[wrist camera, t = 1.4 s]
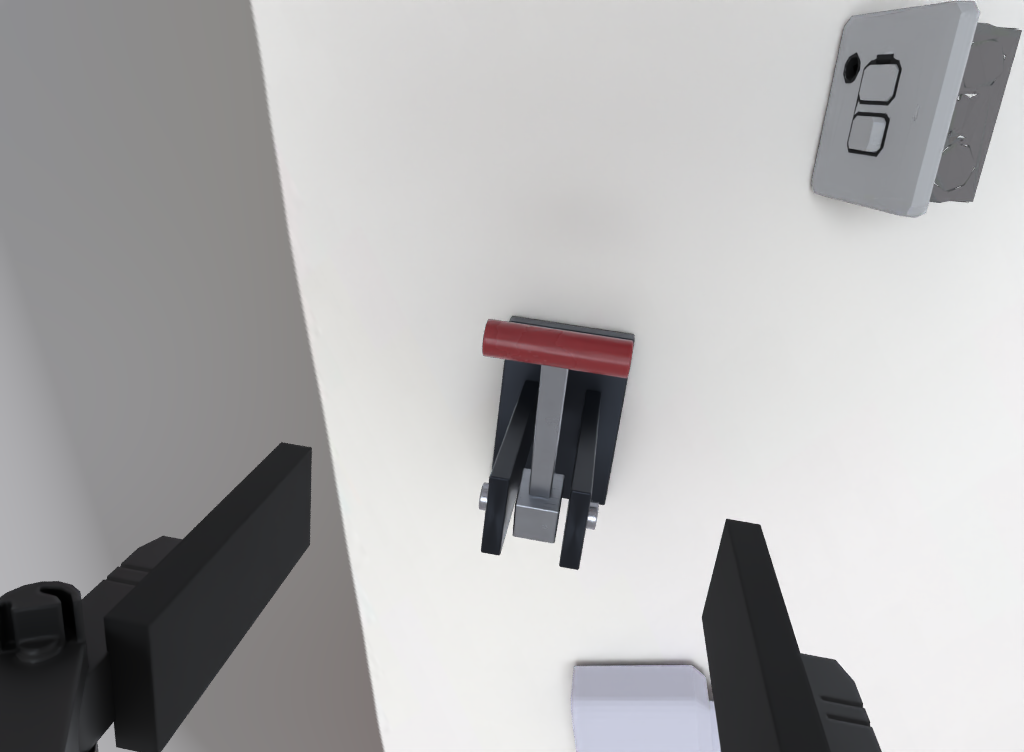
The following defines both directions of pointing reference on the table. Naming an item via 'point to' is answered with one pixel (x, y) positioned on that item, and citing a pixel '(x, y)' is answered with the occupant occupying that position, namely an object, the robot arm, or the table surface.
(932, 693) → the table surface
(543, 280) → the table surface
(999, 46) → the electrical switch
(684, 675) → the charger
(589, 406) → the bracket
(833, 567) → the table surface
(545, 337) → the lever
